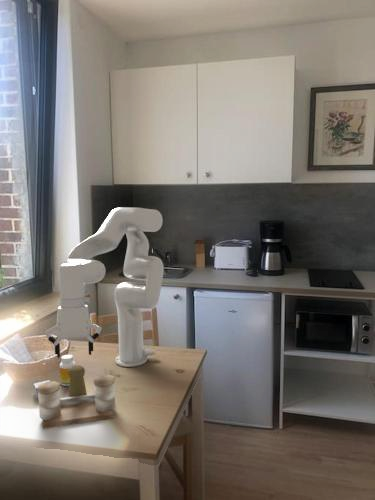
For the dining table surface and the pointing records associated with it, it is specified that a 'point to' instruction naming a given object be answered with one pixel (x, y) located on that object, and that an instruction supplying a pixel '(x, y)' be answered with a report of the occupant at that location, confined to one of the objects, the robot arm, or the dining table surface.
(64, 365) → the supplement bottle
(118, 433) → the dining table surface
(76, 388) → the cork
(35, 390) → the grey rectangular block
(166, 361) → the dining table surface
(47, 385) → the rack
